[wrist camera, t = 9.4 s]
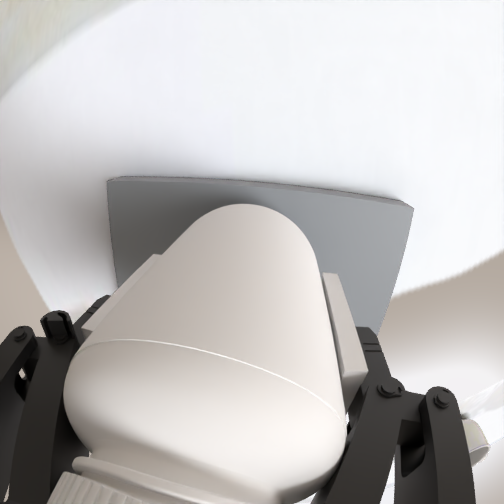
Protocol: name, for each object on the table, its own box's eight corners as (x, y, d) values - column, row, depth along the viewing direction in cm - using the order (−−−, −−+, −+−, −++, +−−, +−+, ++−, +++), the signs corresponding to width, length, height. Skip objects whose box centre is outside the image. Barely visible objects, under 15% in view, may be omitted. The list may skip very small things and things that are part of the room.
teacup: (402, 447, 29) (410, 489, 22) (456, 405, 25) (474, 449, 17) (446, 449, 30) (456, 482, 23) (491, 412, 26) (506, 446, 19)
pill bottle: (169, 299, 18) (45, 509, 4) (201, 179, 14) (-91, 398, 1) (282, 340, 18) (263, 578, 4) (339, 233, 15) (457, 556, 1)
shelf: (121, 176, 18) (89, 186, 15) (402, 201, 17) (428, 216, 13) (138, 327, 24) (119, 355, 20) (358, 354, 22) (367, 387, 19)
